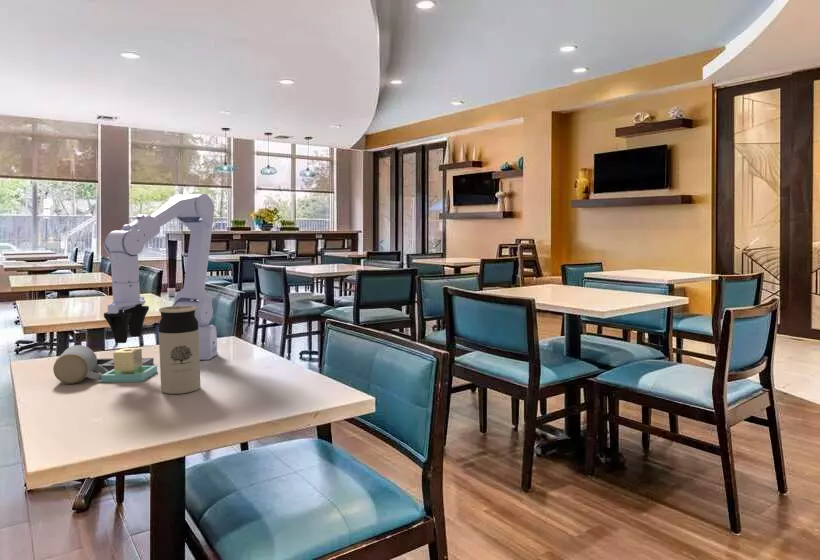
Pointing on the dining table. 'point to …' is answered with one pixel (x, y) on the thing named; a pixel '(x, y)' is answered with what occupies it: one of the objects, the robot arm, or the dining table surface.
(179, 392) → the travel mug
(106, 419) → the dining table surface
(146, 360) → the grey flat frame
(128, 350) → the block
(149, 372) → the tray
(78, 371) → the ceramic mug
